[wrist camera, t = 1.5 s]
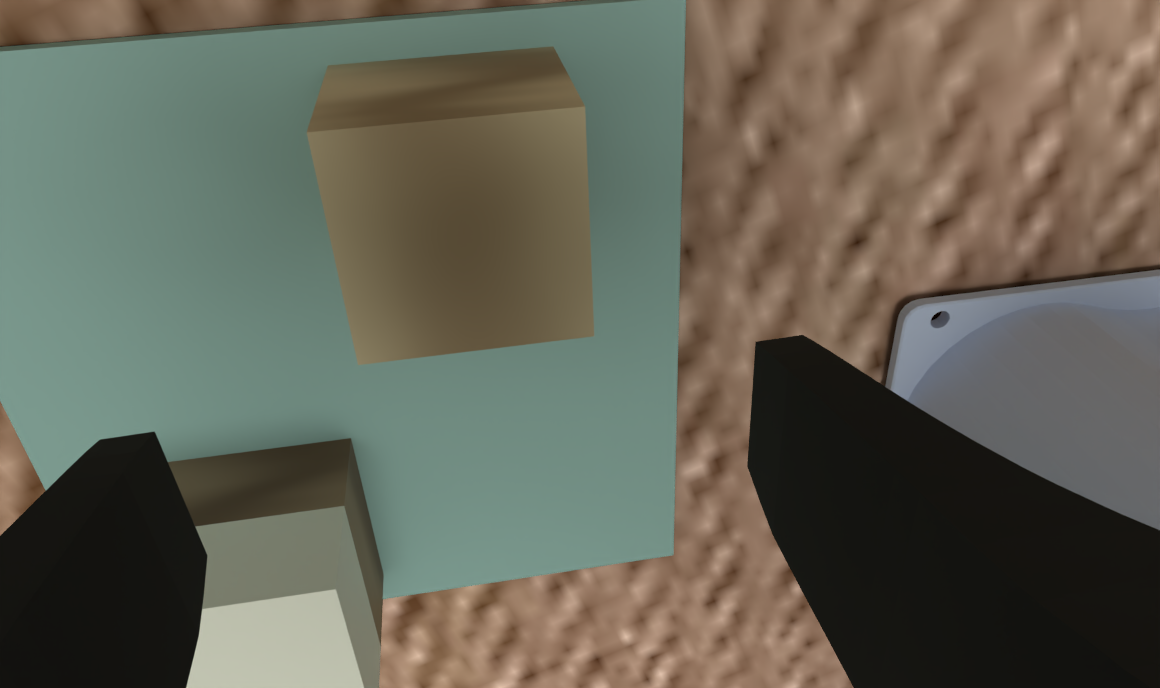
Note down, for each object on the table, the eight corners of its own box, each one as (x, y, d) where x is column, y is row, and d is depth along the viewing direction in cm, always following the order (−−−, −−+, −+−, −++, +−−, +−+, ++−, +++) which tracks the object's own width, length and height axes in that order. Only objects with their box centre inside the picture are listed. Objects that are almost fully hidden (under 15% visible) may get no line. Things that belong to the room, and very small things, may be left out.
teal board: (681, -7, 18) (685, -4, 18) (670, 545, 27) (673, 555, 26) (-158, 59, 16) (-170, 65, 16) (125, 627, 25) (120, 638, 25)
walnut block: (350, 438, 22) (344, 505, 20) (383, 574, 25) (380, 646, 23) (146, 465, 22) (117, 537, 19) (202, 601, 24) (182, 677, 22)
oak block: (552, 46, 18) (584, 106, 14) (564, 245, 20) (594, 336, 17) (327, 65, 17) (306, 132, 14) (367, 267, 20) (358, 365, 16)
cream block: (344, 505, 20) (335, 588, 18) (380, 646, 23) (377, 732, 21) (117, 537, 19) (81, 627, 17) (182, 677, 22) (158, 769, 20)
